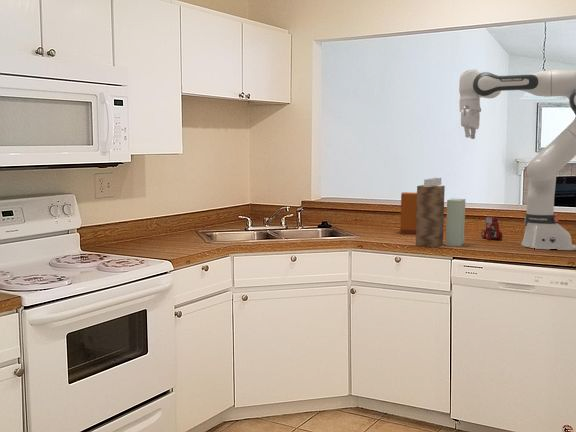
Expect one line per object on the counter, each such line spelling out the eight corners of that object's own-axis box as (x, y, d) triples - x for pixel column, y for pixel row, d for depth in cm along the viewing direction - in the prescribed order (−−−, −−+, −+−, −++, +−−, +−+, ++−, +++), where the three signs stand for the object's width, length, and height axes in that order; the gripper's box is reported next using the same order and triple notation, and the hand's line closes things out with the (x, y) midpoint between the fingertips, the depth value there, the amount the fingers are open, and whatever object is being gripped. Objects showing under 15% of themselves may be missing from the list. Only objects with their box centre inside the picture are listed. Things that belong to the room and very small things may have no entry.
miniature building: (419, 234, 335) (420, 194, 333) (400, 234, 337) (401, 193, 335) (419, 232, 345) (420, 192, 343) (401, 231, 347) (402, 192, 344)
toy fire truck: (489, 241, 315) (490, 218, 314) (479, 237, 327) (480, 215, 326) (504, 241, 315) (505, 218, 314) (493, 237, 328) (494, 215, 327)
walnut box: (442, 244, 304) (444, 185, 301) (438, 246, 296) (440, 186, 293) (420, 242, 308) (422, 185, 305) (415, 245, 300) (417, 186, 297)
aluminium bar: (441, 184, 310) (441, 177, 310) (430, 186, 292) (431, 179, 292) (434, 184, 312) (434, 177, 311) (424, 186, 294) (424, 179, 293)
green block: (463, 243, 306) (465, 199, 304) (459, 246, 297) (461, 200, 295) (450, 242, 309) (451, 198, 307) (445, 245, 300) (447, 200, 298)
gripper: (471, 104, 295) (472, 136, 295) (481, 108, 313) (482, 139, 313) (456, 105, 298) (457, 137, 298) (467, 110, 316) (468, 140, 316)
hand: (470, 138), depth 306 cm, fingers open, 8 cm apart
